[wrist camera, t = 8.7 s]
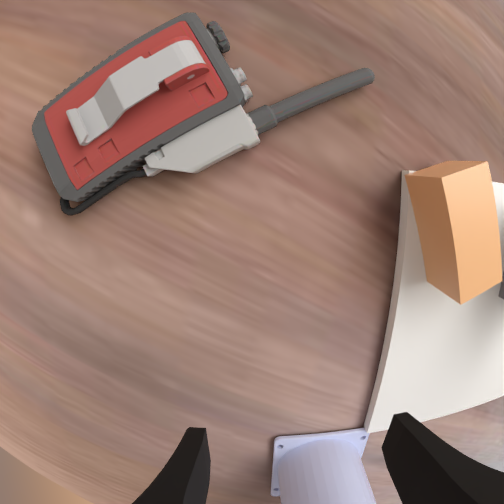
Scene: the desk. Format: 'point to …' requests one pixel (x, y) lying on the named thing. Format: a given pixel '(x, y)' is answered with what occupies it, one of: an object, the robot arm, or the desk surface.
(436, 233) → the terracotta brick
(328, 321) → the desk surface
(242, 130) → the walkie-talkie
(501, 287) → the charcoal brick
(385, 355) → the baseplate
